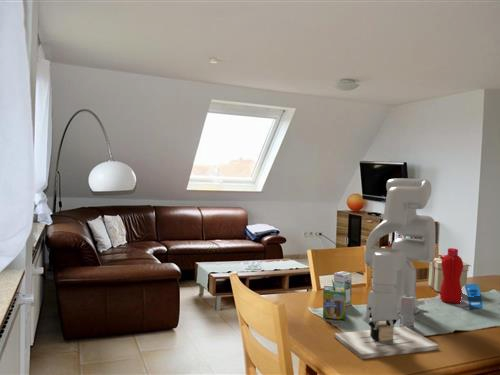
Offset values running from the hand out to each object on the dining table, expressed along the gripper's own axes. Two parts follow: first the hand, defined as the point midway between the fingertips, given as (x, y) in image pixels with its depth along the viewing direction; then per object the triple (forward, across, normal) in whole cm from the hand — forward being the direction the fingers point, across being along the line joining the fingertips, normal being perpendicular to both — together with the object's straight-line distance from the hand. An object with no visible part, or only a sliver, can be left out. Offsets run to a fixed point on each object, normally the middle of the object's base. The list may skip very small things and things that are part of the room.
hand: (381, 338), depth 150 cm
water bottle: (+2, -62, -35) cm, 71 cm away
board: (+2, -2, 0) cm, 3 cm away
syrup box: (+2, -9, -43) cm, 44 cm away
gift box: (+2, -77, -52) cm, 93 cm away
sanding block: (0, 0, 0) cm, 0 cm away
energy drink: (+2, -20, -12) cm, 23 cm away
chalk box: (+2, +2, -30) cm, 30 cm away
